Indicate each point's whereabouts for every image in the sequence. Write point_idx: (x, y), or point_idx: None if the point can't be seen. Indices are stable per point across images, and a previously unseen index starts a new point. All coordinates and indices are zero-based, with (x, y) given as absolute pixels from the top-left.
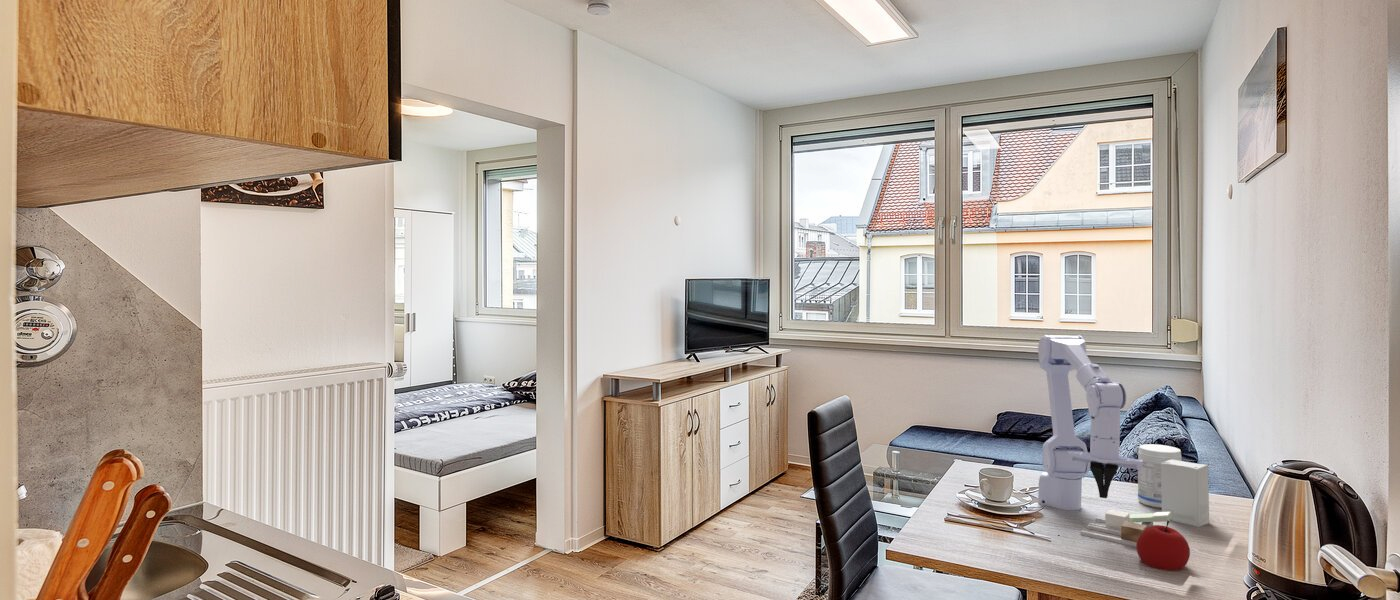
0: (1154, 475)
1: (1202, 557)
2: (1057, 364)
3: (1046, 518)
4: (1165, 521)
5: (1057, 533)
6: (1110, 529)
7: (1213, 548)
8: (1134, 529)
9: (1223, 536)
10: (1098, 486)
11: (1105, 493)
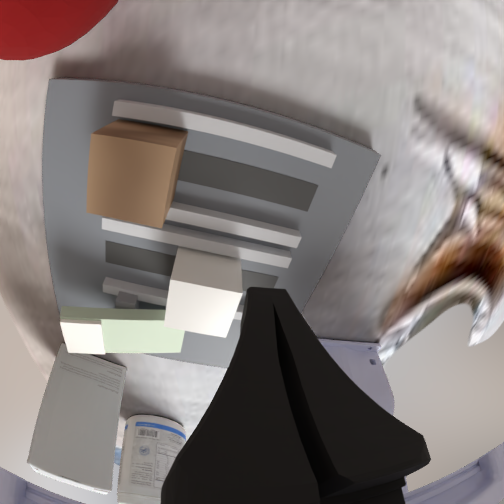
0: (153, 466)
1: (5, 179)
2: None
3: (379, 299)
4: (70, 306)
5: (384, 186)
6: (224, 226)
7: (11, 260)
8: (123, 137)
9: (30, 333)
10: (313, 338)
11: (258, 304)
